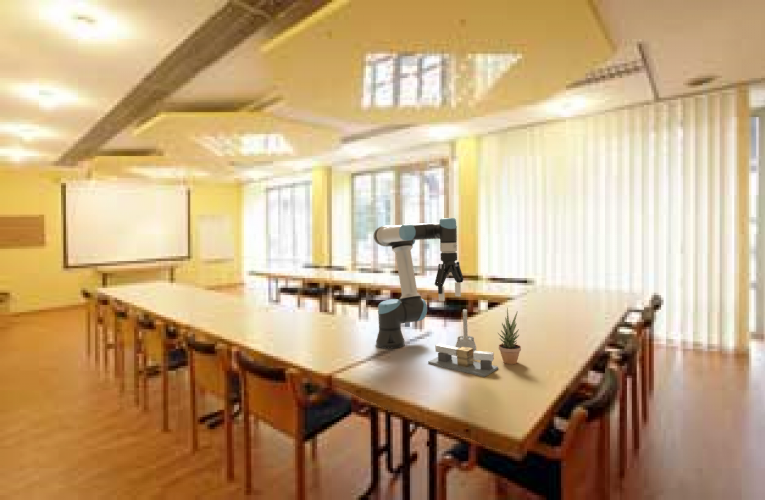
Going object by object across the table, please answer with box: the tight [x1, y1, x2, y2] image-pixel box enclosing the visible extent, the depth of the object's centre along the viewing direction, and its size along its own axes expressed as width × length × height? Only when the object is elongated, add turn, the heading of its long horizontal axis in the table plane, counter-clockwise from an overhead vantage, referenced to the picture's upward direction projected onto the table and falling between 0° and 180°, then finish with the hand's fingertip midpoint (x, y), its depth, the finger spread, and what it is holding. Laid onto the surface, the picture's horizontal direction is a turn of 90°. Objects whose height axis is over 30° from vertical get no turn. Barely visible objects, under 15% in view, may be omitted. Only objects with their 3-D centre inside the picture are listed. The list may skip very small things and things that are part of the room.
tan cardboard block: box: [456, 347, 474, 367], centre depth 179 cm, size 5×5×7 cm
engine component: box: [455, 309, 477, 353], centre depth 201 cm, size 11×20×10 cm
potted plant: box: [497, 307, 522, 365], centre depth 183 cm, size 10×10×25 cm
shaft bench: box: [427, 352, 499, 378], centre depth 180 cm, size 28×12×4 cm, turn 48°
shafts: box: [435, 343, 495, 362], centre depth 181 cm, size 27×6×3 cm, turn 48°
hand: (450, 298), depth 187 cm, fingers open, 13 cm apart
